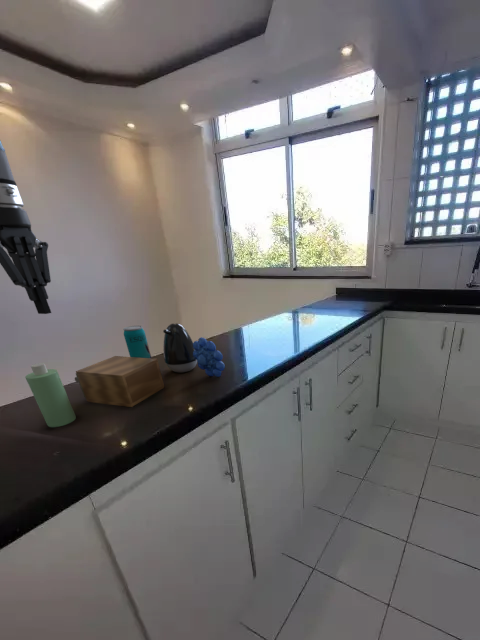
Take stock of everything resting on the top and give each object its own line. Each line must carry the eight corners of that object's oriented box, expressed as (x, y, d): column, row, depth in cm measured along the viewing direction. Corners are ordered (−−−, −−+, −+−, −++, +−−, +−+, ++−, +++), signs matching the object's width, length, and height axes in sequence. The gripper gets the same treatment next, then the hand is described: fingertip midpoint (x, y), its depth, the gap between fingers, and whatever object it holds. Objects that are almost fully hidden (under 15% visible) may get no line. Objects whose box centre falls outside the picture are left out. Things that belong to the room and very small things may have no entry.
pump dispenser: (160, 374, 98) (148, 326, 91) (179, 363, 107) (169, 319, 100) (188, 376, 96) (178, 327, 89) (205, 365, 105) (197, 319, 98)
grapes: (187, 378, 95) (179, 339, 89) (203, 370, 100) (196, 334, 95) (215, 384, 89) (208, 343, 84) (231, 376, 95) (225, 337, 89)
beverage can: (156, 375, 98) (144, 327, 91) (136, 379, 95) (122, 330, 89) (154, 369, 102) (142, 324, 96) (135, 373, 100) (121, 327, 93)
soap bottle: (41, 425, 71) (14, 368, 65) (64, 414, 76) (41, 359, 70) (59, 428, 70) (33, 370, 63) (81, 416, 74) (59, 361, 68)
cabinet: (87, 401, 82) (75, 371, 78) (123, 383, 93) (115, 355, 89) (131, 407, 78) (121, 375, 74) (164, 387, 89) (157, 358, 85)
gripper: (-18, 203, 64) (29, 318, 74) (44, 209, 75) (78, 309, 86) (-42, 205, 66) (7, 317, 76) (22, 211, 77) (58, 308, 88)
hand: (44, 313), depth 81 cm, fingers closed
